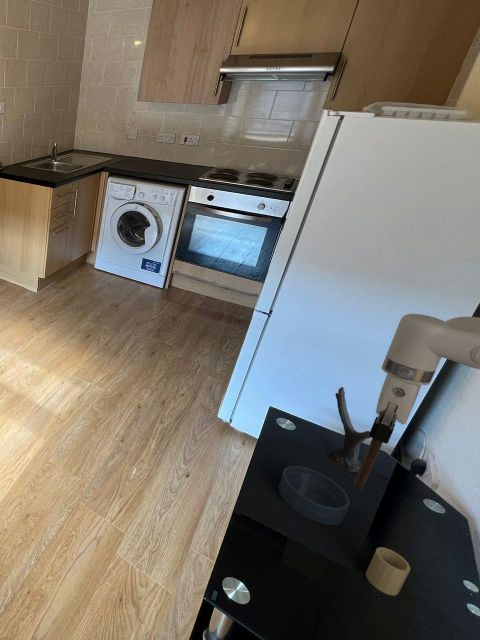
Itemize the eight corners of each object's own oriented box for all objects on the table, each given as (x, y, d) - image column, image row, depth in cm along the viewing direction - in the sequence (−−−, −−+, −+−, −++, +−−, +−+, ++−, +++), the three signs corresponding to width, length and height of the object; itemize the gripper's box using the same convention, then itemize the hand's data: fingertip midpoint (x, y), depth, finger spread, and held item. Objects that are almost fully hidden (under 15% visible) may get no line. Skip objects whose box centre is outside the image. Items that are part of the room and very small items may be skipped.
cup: (383, 573, 95) (395, 548, 92) (404, 599, 90) (417, 573, 87) (358, 570, 95) (369, 545, 93) (377, 595, 90) (390, 569, 88)
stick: (358, 484, 99) (387, 416, 93) (365, 490, 98) (394, 422, 92) (351, 483, 99) (378, 416, 93) (356, 489, 98) (385, 421, 92)
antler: (364, 466, 126) (392, 398, 118) (361, 479, 121) (389, 410, 113) (317, 444, 134) (340, 380, 127) (312, 456, 129) (336, 390, 122)
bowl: (318, 484, 119) (324, 468, 117) (357, 530, 105) (364, 512, 103) (267, 479, 120) (272, 463, 118) (298, 523, 107) (304, 505, 105)
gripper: (429, 391, 81) (397, 463, 86) (435, 365, 90) (405, 431, 96) (378, 373, 86) (350, 442, 92) (388, 350, 96) (363, 414, 102)
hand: (378, 436), depth 94 cm, fingers closed on stick, 1 cm apart
